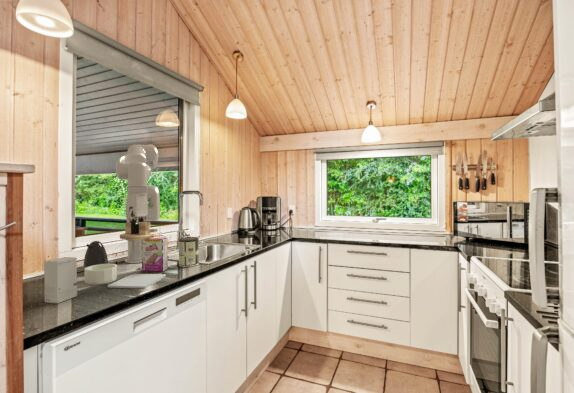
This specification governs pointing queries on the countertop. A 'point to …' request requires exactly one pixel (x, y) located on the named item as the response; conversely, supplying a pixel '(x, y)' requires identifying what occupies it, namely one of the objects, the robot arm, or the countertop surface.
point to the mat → (137, 281)
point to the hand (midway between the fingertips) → (138, 232)
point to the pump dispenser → (95, 254)
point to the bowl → (100, 274)
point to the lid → (143, 232)
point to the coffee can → (188, 251)
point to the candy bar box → (154, 254)
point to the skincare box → (60, 279)
